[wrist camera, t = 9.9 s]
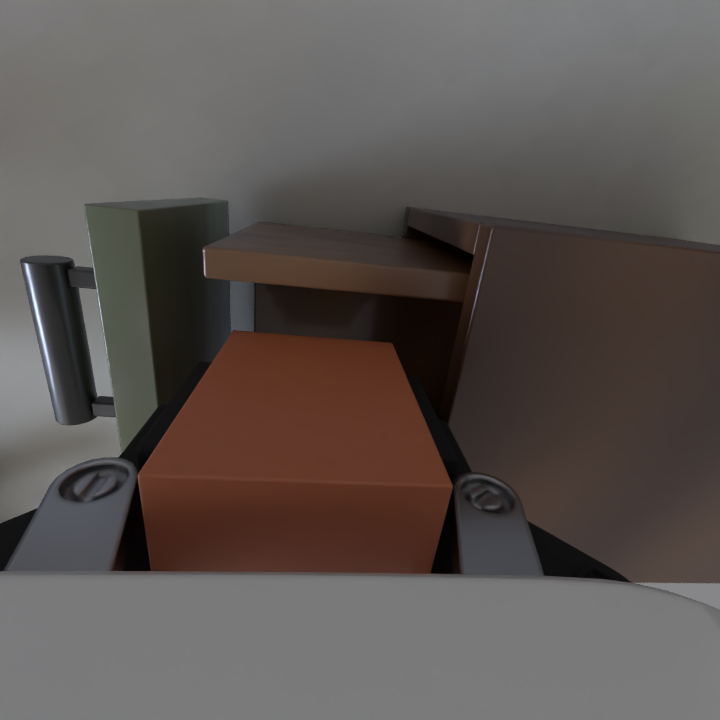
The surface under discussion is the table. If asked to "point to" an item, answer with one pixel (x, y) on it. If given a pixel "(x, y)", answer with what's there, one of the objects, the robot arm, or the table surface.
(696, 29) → the table surface
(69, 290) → the drawer
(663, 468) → the cabinet
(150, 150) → the table surface
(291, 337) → the block
